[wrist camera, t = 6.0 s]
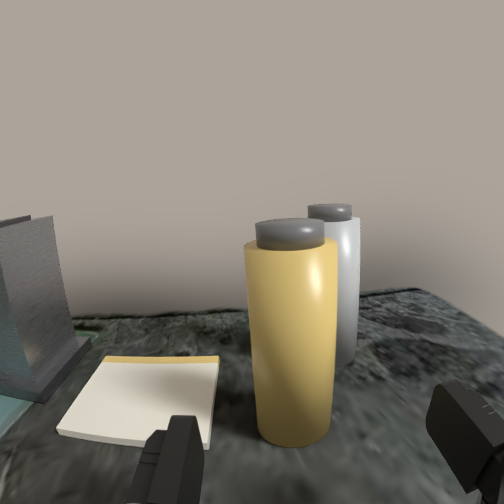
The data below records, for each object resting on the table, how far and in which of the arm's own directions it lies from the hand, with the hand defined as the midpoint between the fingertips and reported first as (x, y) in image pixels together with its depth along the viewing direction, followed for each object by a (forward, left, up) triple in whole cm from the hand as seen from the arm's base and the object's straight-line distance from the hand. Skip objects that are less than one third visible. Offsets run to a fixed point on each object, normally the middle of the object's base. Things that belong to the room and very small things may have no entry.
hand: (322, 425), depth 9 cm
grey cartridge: (+4, +15, -7) cm, 17 cm away
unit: (-23, +13, -7) cm, 27 cm away
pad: (-10, +10, -7) cm, 16 cm away
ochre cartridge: (0, +7, -7) cm, 10 cm away
